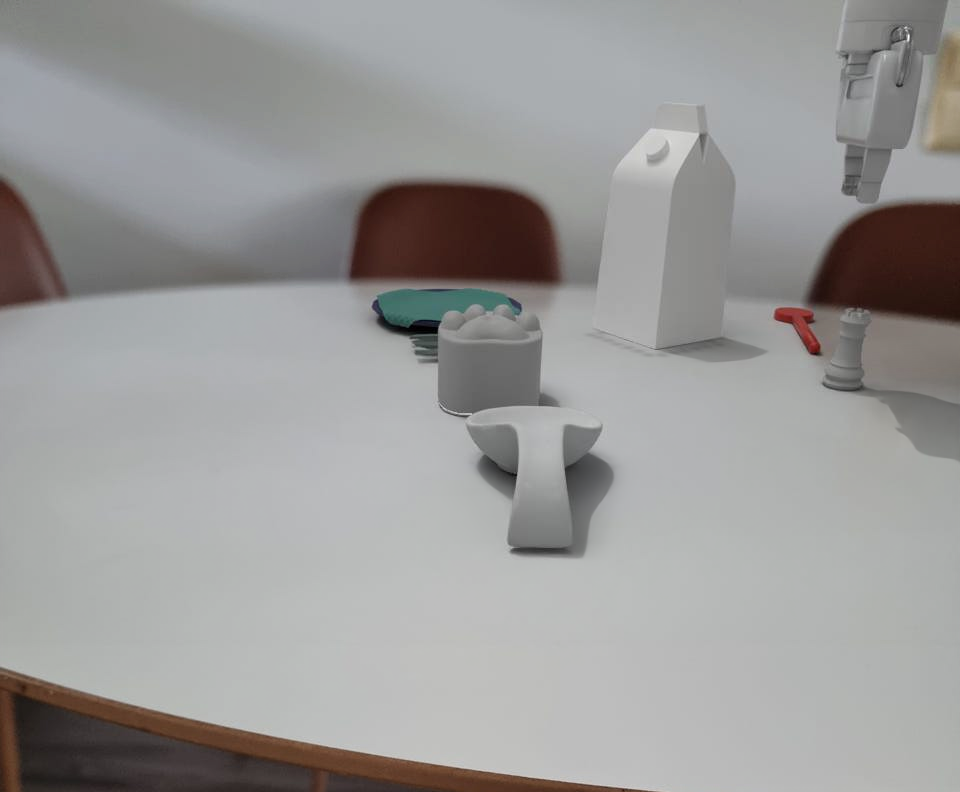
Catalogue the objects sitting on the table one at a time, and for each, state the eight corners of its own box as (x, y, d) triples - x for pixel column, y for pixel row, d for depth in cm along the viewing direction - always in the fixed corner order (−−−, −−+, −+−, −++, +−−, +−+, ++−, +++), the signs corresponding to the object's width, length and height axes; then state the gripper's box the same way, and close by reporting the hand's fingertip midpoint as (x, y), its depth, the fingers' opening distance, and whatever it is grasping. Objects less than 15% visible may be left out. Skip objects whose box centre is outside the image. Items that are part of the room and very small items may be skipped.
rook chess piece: (814, 379, 110) (829, 305, 105) (852, 379, 110) (868, 306, 106) (829, 391, 106) (845, 315, 102) (869, 391, 106) (887, 315, 102)
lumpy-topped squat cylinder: (437, 416, 96) (437, 326, 91) (438, 377, 107) (438, 295, 102) (543, 417, 96) (548, 327, 92) (532, 378, 107) (536, 297, 103)
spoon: (771, 313, 137) (773, 303, 136) (809, 315, 136) (811, 305, 135) (792, 353, 119) (794, 342, 118) (836, 356, 118) (838, 344, 117)
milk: (721, 337, 125) (755, 106, 111) (654, 349, 119) (682, 107, 105) (656, 317, 133) (681, 100, 119) (591, 327, 127) (610, 101, 114)
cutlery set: (506, 301, 139) (506, 284, 138) (554, 358, 114) (556, 339, 113) (366, 303, 136) (366, 286, 135) (385, 363, 111) (384, 342, 110)
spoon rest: (465, 438, 91) (466, 361, 87) (591, 441, 91) (598, 364, 87) (462, 551, 70) (463, 457, 67) (624, 554, 70) (635, 460, 67)
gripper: (954, 23, 79) (914, 209, 85) (903, 39, 96) (873, 192, 103) (872, 22, 80) (839, 206, 86) (837, 38, 97) (812, 190, 104)
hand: (857, 199), depth 95 cm, fingers open, 8 cm apart
